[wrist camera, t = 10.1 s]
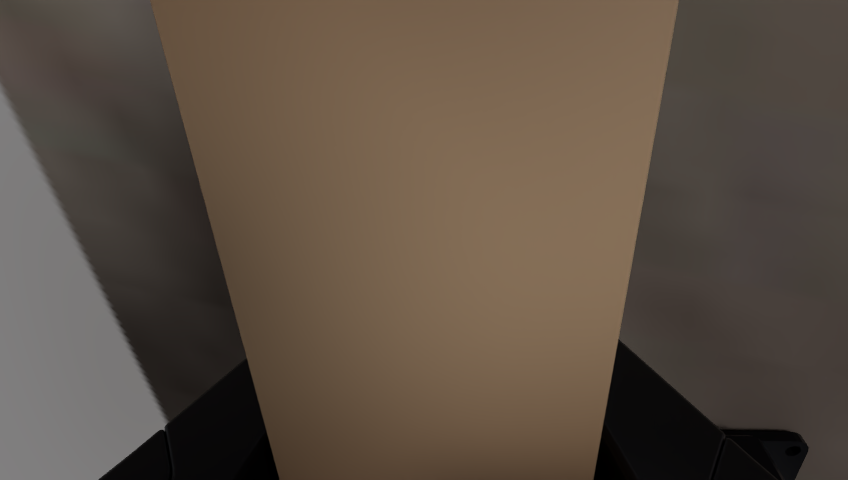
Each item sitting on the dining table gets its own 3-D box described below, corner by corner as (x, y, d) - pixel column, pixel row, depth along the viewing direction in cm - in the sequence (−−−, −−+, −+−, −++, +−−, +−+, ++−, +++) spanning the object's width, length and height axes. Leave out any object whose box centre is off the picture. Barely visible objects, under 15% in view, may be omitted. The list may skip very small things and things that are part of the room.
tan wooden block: (507, 514, 13) (533, 814, 8) (397, 511, 13) (367, 805, 9) (555, -295, 6) (844, -940, 1) (313, -277, 6) (-71, -810, 2)
